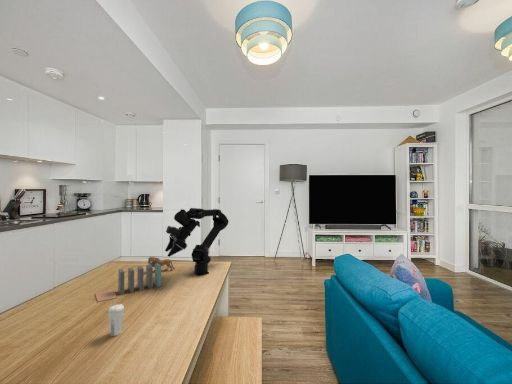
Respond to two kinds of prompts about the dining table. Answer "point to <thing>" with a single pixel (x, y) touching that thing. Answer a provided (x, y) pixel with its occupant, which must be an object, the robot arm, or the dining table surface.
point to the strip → (105, 295)
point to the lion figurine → (160, 262)
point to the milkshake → (115, 319)
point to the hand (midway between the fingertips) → (166, 253)
